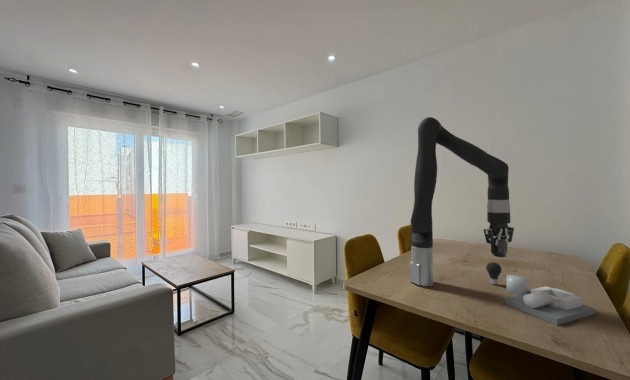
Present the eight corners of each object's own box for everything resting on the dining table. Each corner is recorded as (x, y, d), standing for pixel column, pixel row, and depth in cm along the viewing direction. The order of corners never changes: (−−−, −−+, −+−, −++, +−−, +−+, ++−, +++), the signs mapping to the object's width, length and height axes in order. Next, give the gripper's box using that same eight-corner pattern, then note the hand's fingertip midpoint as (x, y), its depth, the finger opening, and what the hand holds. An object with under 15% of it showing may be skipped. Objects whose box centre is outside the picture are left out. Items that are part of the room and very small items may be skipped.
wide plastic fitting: (519, 296, 103) (519, 281, 103) (502, 290, 109) (502, 276, 109) (531, 293, 105) (531, 279, 105) (513, 287, 111) (513, 274, 111)
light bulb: (497, 287, 112) (497, 265, 111) (483, 283, 117) (483, 261, 116) (504, 285, 114) (504, 263, 114) (490, 281, 119) (490, 259, 119)
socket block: (556, 325, 82) (556, 305, 81) (505, 303, 97) (505, 287, 97) (595, 314, 88) (594, 295, 88) (541, 295, 103) (541, 279, 103)
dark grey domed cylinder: (500, 257, 100) (500, 239, 100) (489, 254, 104) (489, 237, 104) (508, 256, 101) (508, 238, 101) (497, 253, 105) (497, 236, 105)
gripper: (494, 212, 96) (495, 258, 97) (521, 210, 101) (521, 254, 101) (476, 211, 104) (477, 253, 104) (501, 209, 108) (502, 249, 108)
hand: (499, 253), depth 102 cm, fingers closed on dark grey domed cylinder, 4 cm apart
